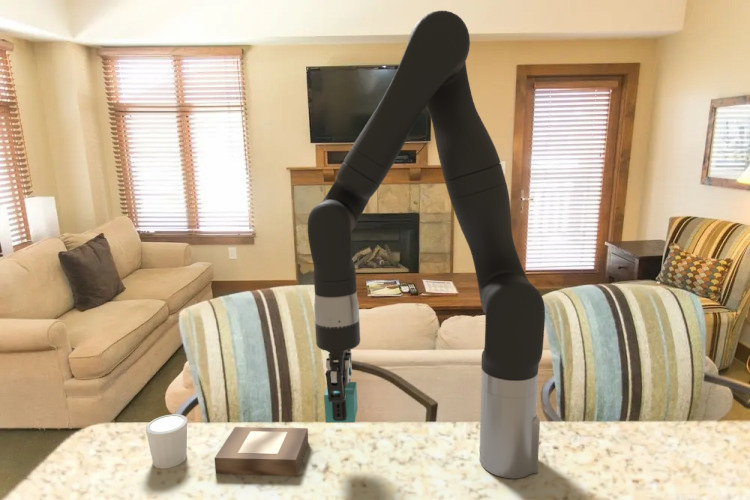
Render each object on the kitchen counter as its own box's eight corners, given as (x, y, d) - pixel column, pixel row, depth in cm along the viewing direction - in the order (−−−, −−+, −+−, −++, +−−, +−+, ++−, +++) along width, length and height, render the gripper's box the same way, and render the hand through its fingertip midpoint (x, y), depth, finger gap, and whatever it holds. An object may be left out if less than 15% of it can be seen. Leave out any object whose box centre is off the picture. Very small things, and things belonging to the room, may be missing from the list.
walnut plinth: (308, 442, 91) (307, 428, 91) (296, 475, 81) (295, 459, 81) (235, 441, 92) (234, 426, 92) (215, 473, 82) (214, 457, 82)
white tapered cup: (175, 472, 83) (172, 435, 82) (140, 468, 84) (136, 431, 83) (198, 450, 89) (195, 415, 88) (165, 446, 91) (161, 412, 90)
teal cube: (357, 408, 87) (356, 382, 86) (354, 422, 82) (353, 394, 81) (330, 408, 87) (328, 382, 86) (325, 422, 82) (324, 395, 81)
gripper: (354, 331, 74) (359, 433, 77) (362, 306, 88) (366, 392, 91) (306, 332, 75) (313, 433, 77) (322, 306, 89) (327, 393, 92)
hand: (341, 411), depth 84 cm, fingers closed on teal cube, 5 cm apart
